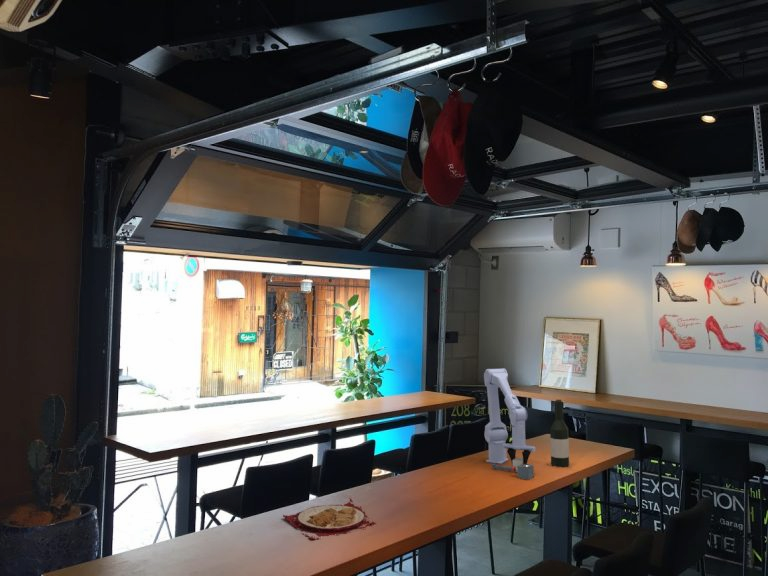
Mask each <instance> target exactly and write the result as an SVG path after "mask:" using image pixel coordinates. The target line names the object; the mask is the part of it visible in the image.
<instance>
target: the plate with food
mask: <svg viewBox="0 0 768 576" xmlns="http://www.w3.org/2000/svg"><path fill="white" fill-rule="evenodd" d="M282 517H283V518H284V519H285V520H286V521H288V522H290V523H289V524H291V526H293V527H295V529H297V528H299V529H300V531H301V532H306V533H301V534H302V535H303V536H306V535H307V533H312V534H315V535H316V536H313V535H311V536H310V535H308V538H309V540H310V539H311V540H316V541H317V540H320V537H321V536H322V537H330V536H339V535H342V534H343V535H345V534H347V533H349V534H350V533H351V532H352V531H351V530H354V529H355V530H357V529H358V528H359V529H360V530H363V529H367V527H373V526H374V525H377V523H376V522H374V521H370V520H369V519H370V517H368V515H367V514H366V512H365V511H363V508H362V505H361V506H355V504H353V500H352V498H351V497H349V502H346V503H344V505H343V504H325V505H324V504H323V505H316V506H315V505H314V506H312V507H308V508H306V509H304V510H302V511H300V512H297V513H295V514H290V515H285V514H282ZM367 519H368V520H367ZM304 534H305V535H304ZM335 534H336V535H335Z"/></svg>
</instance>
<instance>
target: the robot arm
mask: <svg viewBox="0 0 768 576" xmlns="http://www.w3.org/2000/svg"><path fill="white" fill-rule="evenodd" d="M508 379H509V374H508V371H507V369H506V368H504V367H502V368H487V369H485V371H484V373H483V380H484V381H483V382H484V386H485V387H486V390H487V391H486V392H487V403H488V415H489V422H488V423H487V424H486V425H485V426H484V433H483V434H484V438H485V441H486V442H487V443H488V459H486V460H485V462H486V463H492V464H494V463H496V464H499V465H501V464H504V463H505V462H507V461H509V458H510V461H511V467H512V466H513V462H512V460H513V459H515V458H516V454H517V451H522V452H521V454H522V458H523V464H528V461H529V457H530V455H531V453H535V452H536V451H537V450H536V446H532V445H529V444H528V445H527V444H526V421H527V419H528V411H527V409H526V407H524V406H523V405H521V402H520V401H519V399H518V396H517V395H516V394H513V392H512V389H511V387H510V384H509V381H508ZM499 389H500V391H501V392H502V394H503V396H504V404H505V405H506V407H507V409H508V411H509V414H508V417H509V419H510V425H511V441H512V442H511V443H506V441H507V439H508V437H509V436H508V435H509V433H508V431H507V425H506V424H505V423H504V422H502V420H501V410H500V398H499ZM507 455H508V457H509V458H508V457H507Z"/></svg>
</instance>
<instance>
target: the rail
mask: <svg viewBox="0 0 768 576" xmlns="http://www.w3.org/2000/svg"><path fill="white" fill-rule="evenodd" d="M511 467H512V466H509V465H501V464H497V463H492V464H491V470H498V471H505V470H506V471H505V472H511Z"/></svg>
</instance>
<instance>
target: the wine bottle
mask: <svg viewBox="0 0 768 576" xmlns="http://www.w3.org/2000/svg"><path fill="white" fill-rule="evenodd" d="M554 414H555V415H554V417H555V419H554V422H553V423H552V425H551V427H550V429H549V431H550V433H549V435H550V466H553V467H555V466H556V467H555V468H567V467H569V466H570V448H569V447H570V443H569V427H568V426H567V424H566V423H565V421H564V418H563V417H564V414H563V401H562V399H559V398H558V399H555V402H554Z"/></svg>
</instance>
